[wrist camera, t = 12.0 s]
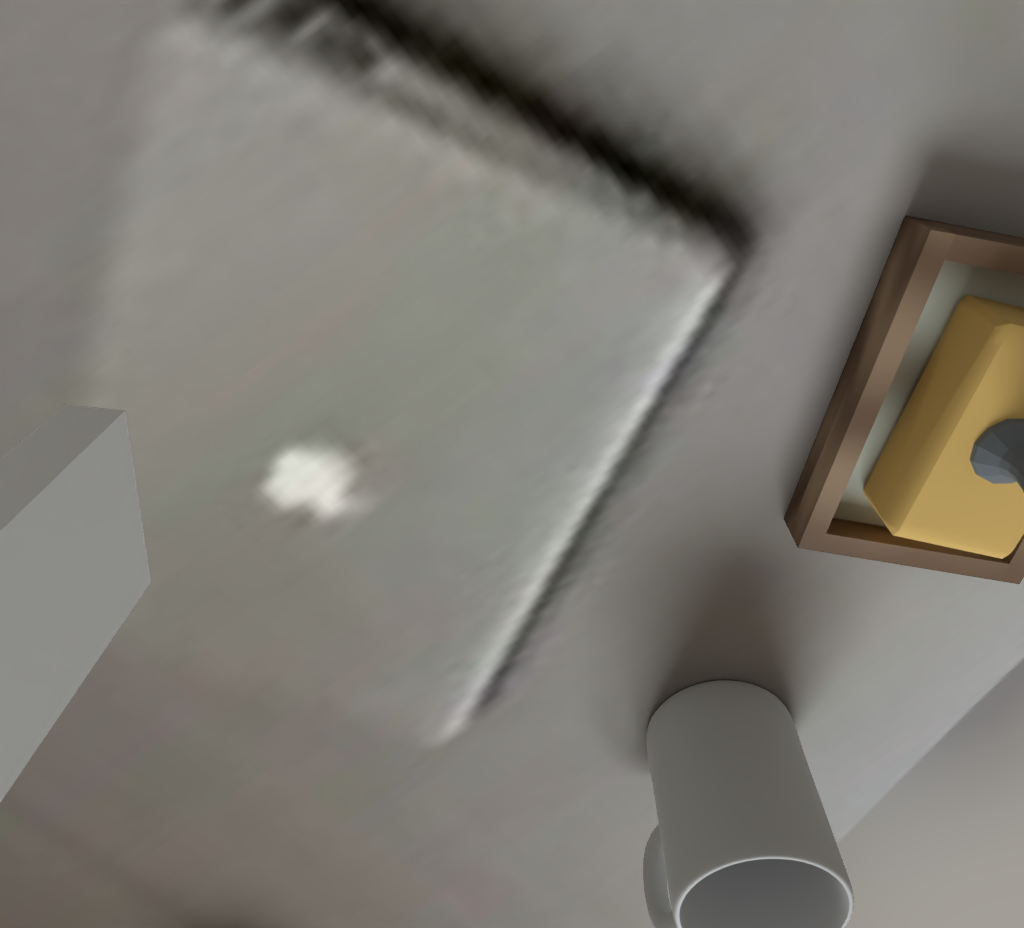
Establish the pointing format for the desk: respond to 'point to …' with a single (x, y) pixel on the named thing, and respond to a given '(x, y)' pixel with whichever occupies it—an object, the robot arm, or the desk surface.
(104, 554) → the robot arm
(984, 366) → the rubber stamp
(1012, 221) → the desk surface
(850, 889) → the mug
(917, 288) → the tray
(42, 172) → the desk surface
